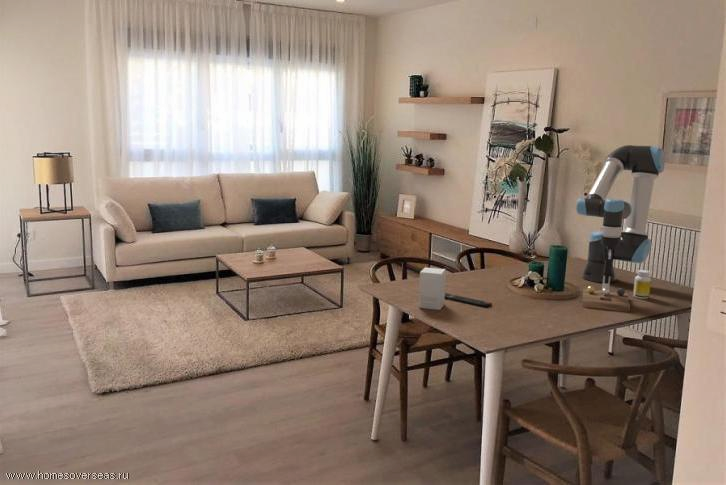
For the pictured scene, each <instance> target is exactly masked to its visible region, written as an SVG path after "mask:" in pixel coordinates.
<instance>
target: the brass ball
mask: <svg viewBox="0 0 726 485" xmlns="http://www.w3.org/2000/svg"><path fill="white" fill-rule="evenodd" d="M586 289H587V292H588V293H590V294H592V293H594V292H595V290H596V287H594V286H592V285H589V286H587V287H586Z"/></svg>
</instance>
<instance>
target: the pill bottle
mask: <svg viewBox="0 0 726 485" xmlns="http://www.w3.org/2000/svg"><path fill="white" fill-rule="evenodd" d="M651 283H652V278H651V277H650V270H644V269H639V270H638V269H637V275H636V276H635V277H634V284H633V292H632V295H633V298H634V297H635V298H637V299H642V300H647V299H649V298H650V293H651V292H650V291H651Z"/></svg>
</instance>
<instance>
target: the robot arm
mask: <svg viewBox="0 0 726 485" xmlns="http://www.w3.org/2000/svg"><path fill="white" fill-rule="evenodd" d="M665 162H666V160H665V152H664V150H663V148H662V147H660V146H653V145H632V144H630V145H629V144H628V145H623V146H620V147H617V148H616V149H614V150H613V151H611V152H610V153H609V154H608V155H607V156H606V157H605V159H604V160H603V162H602V168H601V171H600V172H599V174H598V175H597V177H596V179H595V181H594V183H593V185H592V186H591V189H590V190H589V192H588V194H587V195H586V197H580V198H578V199H577V201H576V206H575V209H576V213H577V214H578V215H580V216H581V215H582V216H585V217H597V218H602V227H600V230H596V231H593V232H591V233H590V236H589V241H588V251H587V260H586V264H585V266H584V268H583V270H582V273H581V274H582V275H581V278H582V279H584V280H587V281H590V282H594V283H595V282H596V283H602V285H601V286H602V287H601V290H603V289H604V288H607V289H609V290H610V284H611V283H613V282H615V281H616V280H617V276H616V270H615V267H614V260H615V261H619V262H620V261H621V262H628V263H632V264H634V263H636V264H643V263H644V262H645V261H646V259H647V258H648V256H649V254H650V251H651V248H652V240H651V239H650V238H649V234H648V233H647V232H646V231H647V230H646V228H647V224H648V218H649V212H650V206H651V199H652V195H653V190H654V182H655V180H656V179H657V178H659V176H660V174H661V173H663V172H664V169H665ZM623 171H631V172H630V175H631V176H632V177H633V182H632V189H631V195H630V200H629V202H628V201H626V200H623V199H620V198H607V196H608V194H609V193H610V191H611V189H612V188H613V186H614V183H615V182H616V180H617V178H618V176H619V175H620V174H622V173H623ZM606 198H607V199H606ZM624 219H626V223H625V229H623V226H622V225H623V220H624ZM622 229H623V230H622Z"/></svg>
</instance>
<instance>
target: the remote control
mask: <svg viewBox="0 0 726 485" xmlns="http://www.w3.org/2000/svg"><path fill="white" fill-rule="evenodd" d="M448 299H449V301H454V302H457V303H463V304H466V305H472V306H477V307H481V308H486V309H487V308H488V309H489V308H491V307H492V306H493V303H492V302H489V301H485V300H484V301H483V300H480V299H476V298H475V299H474V298H471V297H470V298H469V297H464V296H460V295H456V294H450V293H446V292H445V300H448Z"/></svg>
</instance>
